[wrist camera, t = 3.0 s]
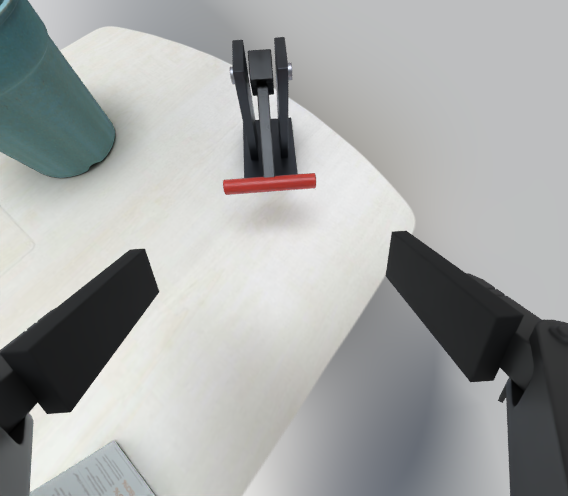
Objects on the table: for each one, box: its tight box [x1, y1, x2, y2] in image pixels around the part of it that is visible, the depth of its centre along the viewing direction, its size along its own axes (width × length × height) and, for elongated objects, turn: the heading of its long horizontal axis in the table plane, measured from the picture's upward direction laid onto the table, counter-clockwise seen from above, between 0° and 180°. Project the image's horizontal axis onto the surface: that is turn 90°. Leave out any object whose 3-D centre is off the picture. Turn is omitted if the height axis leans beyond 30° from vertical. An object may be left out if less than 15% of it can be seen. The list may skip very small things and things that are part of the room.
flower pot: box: [0, 0, 115, 178], centre depth 28 cm, size 16×16×16 cm
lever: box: [223, 49, 316, 195], centre depth 24 cm, size 13×9×2 cm
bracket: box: [230, 37, 297, 178], centre depth 28 cm, size 10×7×13 cm
